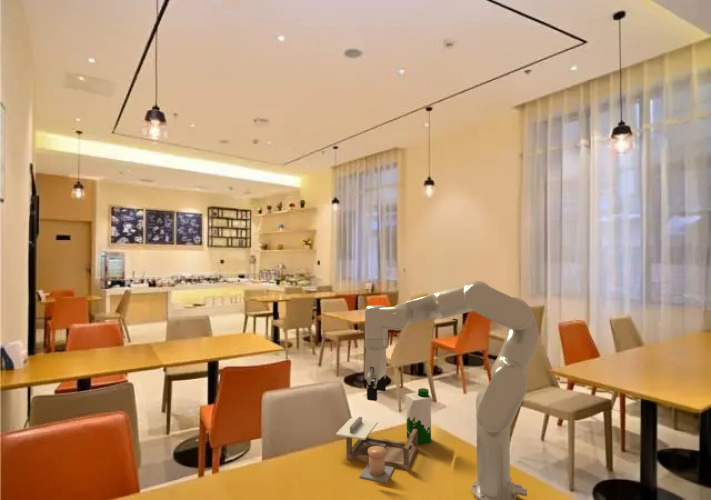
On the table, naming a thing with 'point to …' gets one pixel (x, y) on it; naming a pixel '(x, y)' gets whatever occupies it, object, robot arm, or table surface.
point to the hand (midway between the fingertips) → (376, 395)
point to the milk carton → (419, 415)
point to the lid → (357, 428)
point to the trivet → (383, 478)
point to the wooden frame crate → (395, 450)
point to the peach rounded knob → (376, 460)
